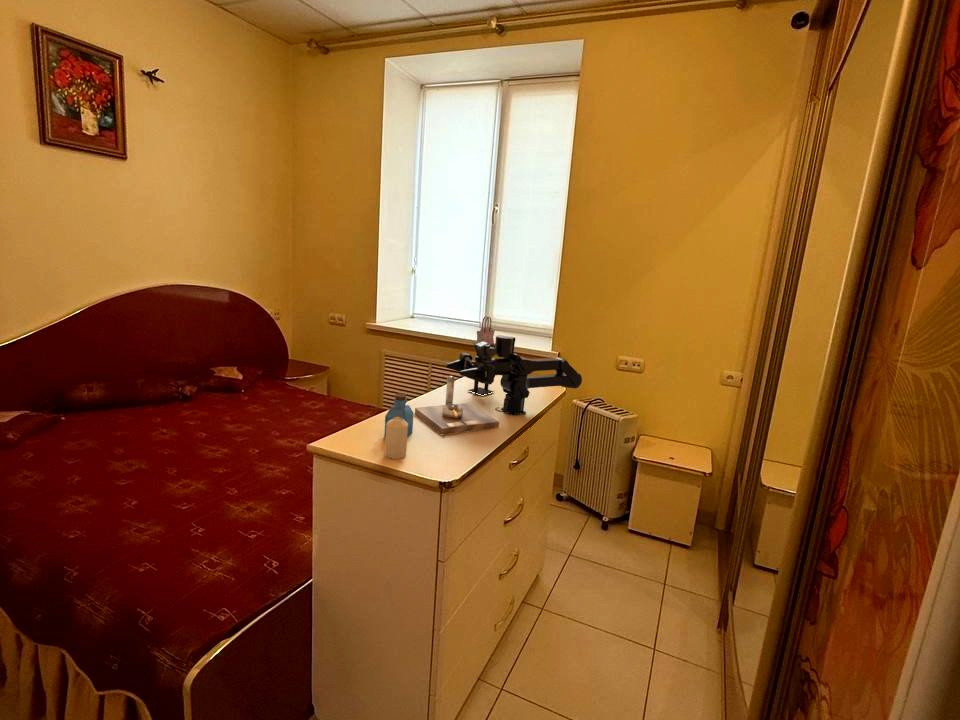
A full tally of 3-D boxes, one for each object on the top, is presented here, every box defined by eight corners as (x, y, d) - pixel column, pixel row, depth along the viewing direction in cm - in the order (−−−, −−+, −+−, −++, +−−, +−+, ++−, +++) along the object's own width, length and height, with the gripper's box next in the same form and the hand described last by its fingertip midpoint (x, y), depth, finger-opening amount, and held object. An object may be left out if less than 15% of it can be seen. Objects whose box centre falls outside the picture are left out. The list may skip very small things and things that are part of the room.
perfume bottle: (405, 440, 139) (407, 399, 137) (384, 437, 140) (386, 396, 138) (412, 433, 145) (414, 393, 143) (392, 429, 146) (394, 390, 144)
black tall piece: (479, 397, 187) (487, 318, 181) (465, 392, 192) (471, 315, 185) (496, 392, 195) (503, 317, 189) (481, 388, 200) (488, 314, 193)
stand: (467, 408, 172) (468, 401, 172) (498, 427, 156) (499, 420, 155) (414, 413, 162) (415, 406, 162) (441, 434, 146) (442, 426, 145)
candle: (385, 450, 131) (387, 414, 129) (406, 451, 132) (408, 415, 130) (383, 458, 126) (385, 421, 124) (405, 459, 126) (407, 422, 124)
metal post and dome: (457, 405, 167) (460, 375, 165) (466, 423, 150) (469, 390, 147) (438, 404, 166) (441, 374, 164) (445, 423, 148) (447, 390, 146)
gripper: (482, 337, 171) (441, 338, 163) (512, 349, 155) (469, 350, 147) (479, 369, 173) (439, 371, 165) (509, 383, 157) (466, 386, 149)
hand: (453, 369), depth 157 cm, fingers open, 9 cm apart
